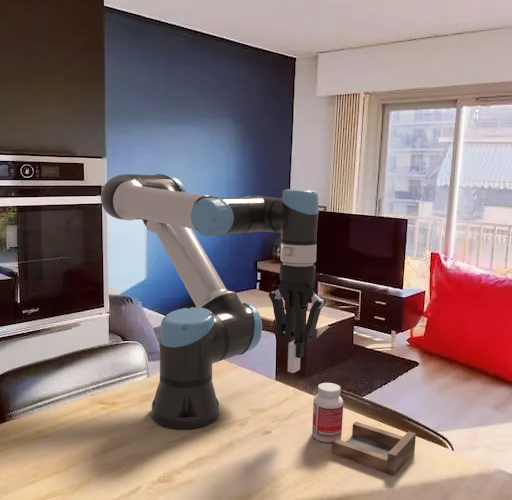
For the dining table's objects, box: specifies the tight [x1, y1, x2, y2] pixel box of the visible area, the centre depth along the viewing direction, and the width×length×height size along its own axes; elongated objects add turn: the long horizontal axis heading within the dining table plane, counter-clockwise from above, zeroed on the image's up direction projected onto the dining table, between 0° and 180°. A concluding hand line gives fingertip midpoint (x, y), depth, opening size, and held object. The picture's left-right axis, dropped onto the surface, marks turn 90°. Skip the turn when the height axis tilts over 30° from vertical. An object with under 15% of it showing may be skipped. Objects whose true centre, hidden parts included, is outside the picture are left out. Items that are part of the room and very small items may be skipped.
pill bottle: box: [311, 382, 344, 444], centre depth 114 cm, size 6×6×11 cm
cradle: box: [331, 421, 417, 477], centre depth 109 cm, size 13×11×4 cm
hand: (293, 370), depth 118 cm, fingers closed
